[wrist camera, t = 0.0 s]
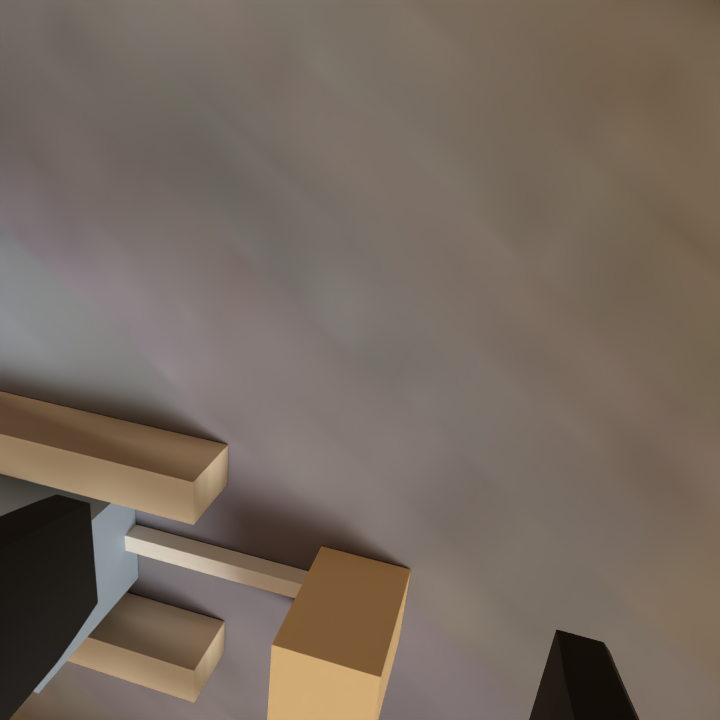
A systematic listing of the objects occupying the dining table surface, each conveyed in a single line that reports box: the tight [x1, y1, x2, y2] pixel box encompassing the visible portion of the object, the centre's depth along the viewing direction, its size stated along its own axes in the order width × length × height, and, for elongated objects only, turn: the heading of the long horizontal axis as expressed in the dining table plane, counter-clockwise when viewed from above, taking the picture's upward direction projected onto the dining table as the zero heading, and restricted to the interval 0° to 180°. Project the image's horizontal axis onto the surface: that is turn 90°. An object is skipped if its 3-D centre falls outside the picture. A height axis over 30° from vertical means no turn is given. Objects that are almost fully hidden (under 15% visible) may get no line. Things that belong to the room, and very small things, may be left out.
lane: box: [0, 391, 228, 702], centre depth 23 cm, size 10×12×3 cm
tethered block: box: [0, 474, 411, 720], centre depth 21 cm, size 4×15×6 cm, turn 84°
